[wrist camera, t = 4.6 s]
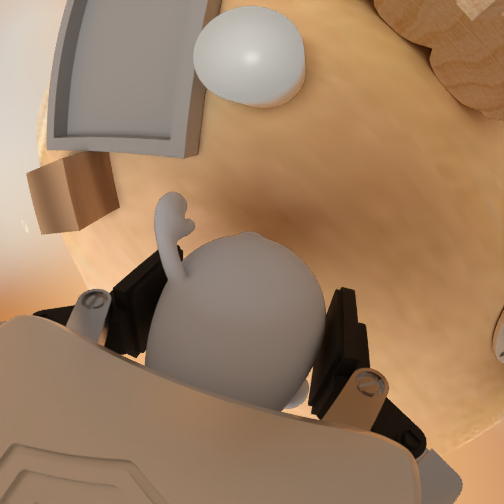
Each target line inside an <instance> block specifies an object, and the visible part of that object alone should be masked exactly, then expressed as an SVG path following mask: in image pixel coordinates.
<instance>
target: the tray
mask: <svg viewBox="0 0 504 504" xmlns="http://www.w3.org/2000/svg"><path fill="white" fill-rule="evenodd" d="M221 1H222V0H67V4H66V7H65V10H64V14H63V18H62V22H61V26H60V30H59V34H58V39H57V44H56V49H55V54H54V60H53V66H52V73H51V81H50V89H49V100H48V115H47V150H76V151H102V152H119V153H133V154H144V155H155V156H165V157H174V158H183V159H184V158H187V157H190V156H193V155H196V154H198V148H199V138H200V130H201V121H202V113H203V106H204V98H205V91H206V87H205V86H204V85H203V83H202V82H201V81H200V79H199V77H198V76H197V74H196V71H195V68H194V62H193V53H194V47H195V43H196V41H197V38H198V36H199V35H200V33H201V31H202V30H203V29H204V27H205V26H206V25H207V24H208V23H209V22H210V21H211V20H213V19H214V18H215V17H217V16H218V15H219V11H220V6H221Z"/></svg>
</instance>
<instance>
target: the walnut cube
mask: <svg viewBox="0 0 504 504" xmlns="http://www.w3.org/2000/svg"><path fill="white" fill-rule="evenodd" d="M27 179H28V184H29V188H30V193H31V197H32V201H33V205H34V209H35V213H36V216H37V220H38V224H39V227H40V230H41V234H51V233H61V232H71V231H80V230H82V229H83V228H85V227H86V226H88V225H90V224H91V223H93V222H95V221H97V220H98V219H100V218H102V217H103V216H105V215H107V214H109V213H110V212H112V211H114V210H116V209H118V208H119V202H118V198H117V193H116V189H115V184H114V179H113V174H112V169H111V163H110V158H109V152H102V151H88V152H84V153H80V154H76V155H73V156H69V157H66V158H62V159H60V160H57V161H55V162H52V163H50V164H47V165H45V166H42V167H40V168H38V169H36V170H33V171H31V172H29V173H27Z"/></svg>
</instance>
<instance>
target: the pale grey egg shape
mask: <svg viewBox="0 0 504 504" xmlns="http://www.w3.org/2000/svg"><path fill="white" fill-rule="evenodd" d="M193 62H194V68H195V71H196V74H197V76H198V77H199V79H200V81H201V82H202V83H203V85H204V86H205V87H206V88H207V89H208V90H210V91H211V92H212V93H214V94H215V95H217V96H219V97H221V98H224V99H227V100H230V101H234V102H238V103H241V104H245V105H248V106H252V107H257V108H272V107H277V106H280V105H282V104H285V103H286V102H288V101H290V100H291V99H292V98H293V97H295V96H296V95H297V93H298V92H299V91H300V89H301V88H302V86H303V83H304V80H305V76H306V66H305V55H304V45H303V41H302V37H301V35H300V33H299V31H298V29H297V28H296V26H295V25H294V24H293V23H292V22H291V21H290V20H289V19H288V18H287V17H285V16H284V15H282V14H281V13H279V12H277V11H274V10H272V9H269V8H265V7H258V6H245V7H238V8H234V9H231V10H228V11H226V12H224V13H222V14H220V15H218V16H217V17H215V18H214V19H213V20H211V21H210V22H209V23H208V24H207V25H206V26H205V27H204V29H203V30H202V31H201V33H200V35H199V36H198V38H197V41H196V43H195V47H194V53H193Z"/></svg>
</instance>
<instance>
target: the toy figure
mask: <svg viewBox="0 0 504 504" xmlns="http://www.w3.org/2000/svg"><path fill="white" fill-rule="evenodd" d="M186 210H187V202H186V200H185V198H184V197H183V196H182V195H181V194H179V193H177V192H169V193H166V194H165V195H164V196H162V197H161V199H160V200H159V202H158V204H157V206H156V210H155V217H154V229H155V235H156V240H157V246H158V250H159V254H160V258H161V262H162V265H163V268H164V271H165V273H166V276H167V278H168V281H167V283H166V285H165V287H164V289H163V291H162V293H161V296H160V298H159V301H158V304H157V306H156V309H155V312H154V316H153V319H152V323H151V327H150V331H149V336H148V341H147V348H146V357H145V366H146V367H148V368H151V369H153V370H155V371H158V372H160V373H162V374H165V375H167V376H170V377H172V378H175V379H177V380H180V381H183V382H185V383H188V384H191V385H193V386H196V387H199V388H202V389H205V390H208V391H211V392H214V393H217V394H220V395H223V396H226V397H229V398H232V399H236V400H239V401H242V402H246V403H249V404H253V405H256V406H260V407H264V408H268V409H272V410H276V411H280V412H281V411H282V410H283V409H291V408H295V407H297V406H299V405H300V404H302V403H303V402H304V401H305V399H306V398H307V395H308V391H309V384H308V381H307V380H306V378H307V376H308V374H309V372H310V370H311V369H312V367H313V365H314V363H315V361H316V359H317V356H318V354H319V351H320V348H321V345H322V342H323V338H324V334H325V327H326V308H325V302H324V297H323V294H322V291H321V288H320V285H319V283H318V281H317V279H316V277H315V276H314V274H313V272H312V271H311V270H310V268H309V267H308V266H307V264H306V263H305V262H304V261H303V260H302V259H301V258H300V257H299V256H298V255H296V254H295V253H294V252H293V251H291V250H290V249H288V248H287V247H285V246H283V245H281V244H279V243H277V242H275V241H272V240H269V239H266V238H264V237H263V236H262V235H260V234H259V233H256V232H252V231H246V232H243V233H240V234H239V235H235V236H228V237H223V238H219V239H216V240H213V241H211V242H208V243H206V244H204V245H202V246H201V247H199V248H197V249H196V250H194V251H193V252H192V253H190V254H189V255H188V256H187V257H186V258H185V259H184V260H183V261H182V262H181V260H180V257H179V253H178V249H177V241H178V240H179V239H181V238H182V237H184V236H187V235H188V234H190V233H191V232H192V231H193V230H194V228H195V224H194V222H193V221H192V220H191V219H185V212H186Z"/></svg>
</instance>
